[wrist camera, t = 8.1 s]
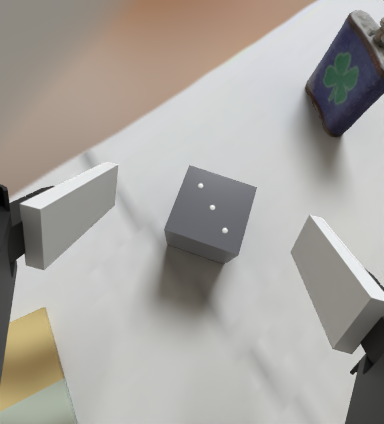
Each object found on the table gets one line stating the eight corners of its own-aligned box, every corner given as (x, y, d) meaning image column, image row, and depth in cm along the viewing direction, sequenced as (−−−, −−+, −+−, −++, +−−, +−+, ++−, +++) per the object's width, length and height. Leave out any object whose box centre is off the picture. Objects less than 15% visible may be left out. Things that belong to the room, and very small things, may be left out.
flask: (301, 82, 32) (359, -13, 22) (321, 80, 33) (386, -15, 23) (327, 139, 30) (407, 60, 20) (348, 136, 30) (437, 56, 20)
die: (223, 264, 24) (238, 254, 18) (166, 244, 24) (163, 228, 18) (239, 210, 26) (257, 187, 20) (186, 193, 26) (188, 164, 20)
